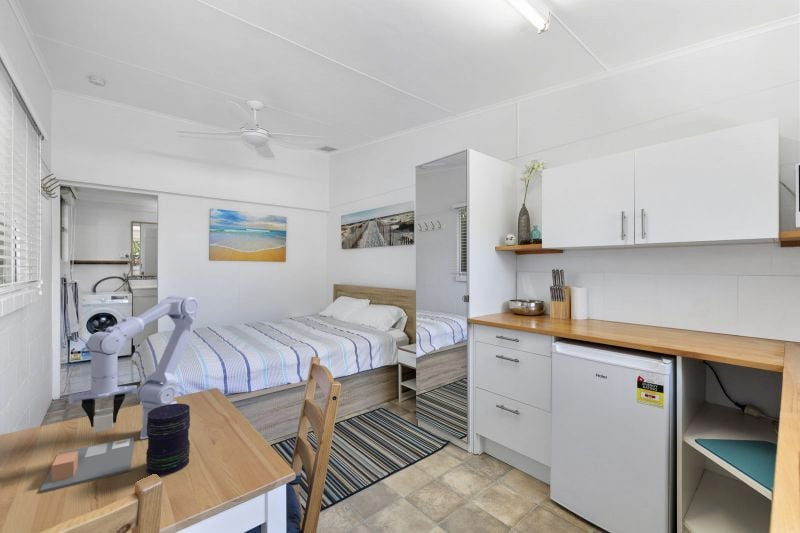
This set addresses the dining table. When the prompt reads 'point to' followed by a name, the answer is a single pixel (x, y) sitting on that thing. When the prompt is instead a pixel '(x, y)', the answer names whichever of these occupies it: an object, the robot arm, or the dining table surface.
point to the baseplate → (96, 463)
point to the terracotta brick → (64, 466)
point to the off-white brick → (103, 420)
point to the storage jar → (168, 439)
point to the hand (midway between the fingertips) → (104, 423)
